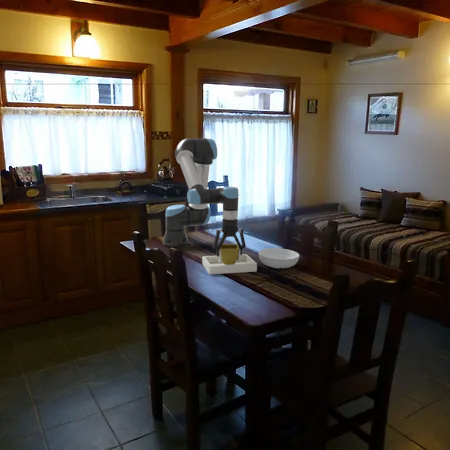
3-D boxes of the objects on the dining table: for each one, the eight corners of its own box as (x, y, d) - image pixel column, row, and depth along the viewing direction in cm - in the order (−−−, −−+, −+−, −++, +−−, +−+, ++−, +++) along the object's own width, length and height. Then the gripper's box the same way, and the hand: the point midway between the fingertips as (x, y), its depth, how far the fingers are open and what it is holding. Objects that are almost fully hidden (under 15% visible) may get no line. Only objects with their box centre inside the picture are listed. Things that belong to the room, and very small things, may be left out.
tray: (202, 263, 222) (202, 256, 221) (246, 261, 228) (246, 254, 227) (209, 274, 206) (209, 266, 205) (256, 271, 212) (256, 263, 211)
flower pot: (220, 266, 212) (220, 248, 210) (220, 260, 221) (220, 244, 219) (238, 266, 213) (238, 248, 211) (236, 261, 221) (237, 244, 219)
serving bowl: (297, 274, 210) (298, 260, 208) (255, 270, 214) (256, 257, 212) (299, 261, 230) (300, 249, 228) (260, 258, 234) (261, 246, 232)
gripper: (210, 220, 205) (209, 265, 210) (253, 219, 211) (251, 262, 216) (206, 217, 213) (206, 260, 217) (249, 216, 218) (247, 258, 223)
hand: (229, 261), depth 217 cm, fingers closed on flower pot, 9 cm apart
